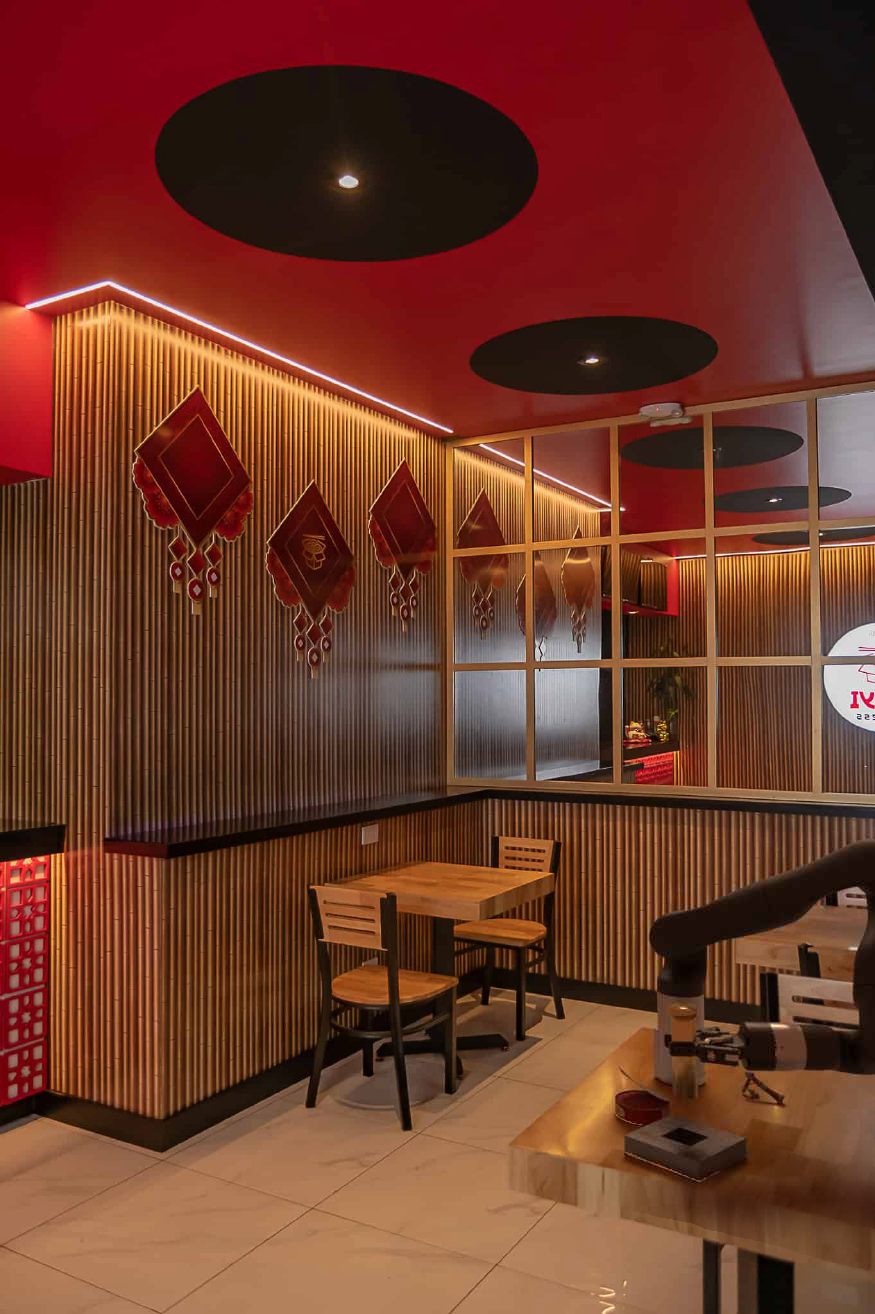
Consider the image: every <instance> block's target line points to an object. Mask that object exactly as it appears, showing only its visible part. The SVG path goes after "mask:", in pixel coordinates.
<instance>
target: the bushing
mask: <svg viewBox="0 0 875 1314" xmlns="http://www.w3.org/2000/svg"><path fill="white" fill-rule="evenodd" d="M668 1014H669V1015H671V1036H672V1041H684V1042H692V1043H693V1042H695V1041H696V1017H697V1016H699V1008H698V1007H697V1006H694V1005H690V1004H670V1005H668ZM672 1081H673V1085H672V1096H674V1097H675V1098H678V1099H682V1100H694V1099H698V1097H699V1095H698V1094H699V1091H698V1090H699V1089H698V1088H699V1086H698V1084H697V1059H695V1058H694V1056H693V1057H677V1056H672Z"/></svg>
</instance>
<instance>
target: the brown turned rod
mask: <svg viewBox="0 0 875 1314" xmlns="http://www.w3.org/2000/svg"><path fill="white" fill-rule="evenodd" d="M744 1075H745V1078H747V1079H746V1082H745V1084H743V1087H742V1089H741V1093H742V1094H744V1093H746V1092H747V1091H748V1093H749V1096H752V1097H753V1098H754V1099H761V1096H760V1095H759V1094H760V1093H758V1092H757V1091H755V1089H753V1090H752V1088H749V1086H751V1085H754V1084H755V1085H756V1086H757V1087H758V1088H759V1089H760V1090H762V1091H763V1092H764V1093H767V1094H768V1095H769V1096H770V1097H771V1098H772V1099H773V1100H774V1101H776V1105H777V1106H778V1105H780V1104H781V1103H783V1101H784V1099H785V1096H786V1094H784V1093H783V1094H780V1093H778V1092H776V1091H775V1090H773V1089H771V1088H769V1086H768V1085H767V1084H765V1082H763V1081H762V1080H760V1079H758V1078H757V1077H756V1075H755V1073H754V1071H748V1070H745V1072H744Z"/></svg>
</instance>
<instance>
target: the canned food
mask: <svg viewBox="0 0 875 1314" xmlns="http://www.w3.org/2000/svg"><path fill="white" fill-rule="evenodd" d="M617 1068H618V1069H619V1071H620V1072H621V1074H623V1075H624V1076H625V1077H627V1078H628V1079H629V1080H631V1081H632V1082H634V1083H635V1084H636V1085H638V1086H639V1087H640V1088H641V1089H643V1090H641V1089H640V1090H639V1089H638V1090H637V1089H633V1090H625V1091H621V1092H618V1093H617V1094H616V1095H615V1096H614V1101H615V1102H614V1104H615V1105H614V1108H615V1109H614V1113H615V1112H616V1114H617V1115H618V1116H619V1117H620V1118H623V1119H625V1120H627V1121H630V1122H632V1123H637V1124H642V1125H649V1124H651V1123H653V1122H656V1121H658V1120H660V1119H662V1118H665V1117H667V1116H669V1115H671V1100H670V1099H669V1097H667V1096H665V1095H664V1094H662V1093H659V1092H657V1091H656V1090H653V1089H651V1088H650V1087H647V1086H645V1085H643V1084H640V1083H639V1082H636V1081H635V1080H633V1078H631V1077H630V1076H629V1075H628V1074H627V1073H626V1072H625V1071H624V1070H623V1069H622V1068H620V1066H618V1067H617Z"/></svg>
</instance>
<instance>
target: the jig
mask: <svg viewBox="0 0 875 1314" xmlns="http://www.w3.org/2000/svg"><path fill="white" fill-rule="evenodd" d="M623 1145H624V1153H625V1152H628V1153H632V1154H633V1155H636V1156H637V1157H640V1158H642V1159H645V1160H647V1161H650V1162H653V1163H655V1164H659V1165H661V1166H663V1167H666V1168H668V1169H672V1170H673V1171H676V1172H678V1173H681V1174H682V1175H686V1176H688V1177H690V1178H694V1179H696V1180H699V1181H700V1180H703V1179H704V1178H707V1177H709V1178H711V1177H712V1176H711V1175H713V1174H715V1173H716V1172H718V1171H720V1172H722V1171H723V1170H722V1169H724V1168H726V1169H728V1168H729V1167H731V1166H733V1165H735V1164H737V1163H738V1162H741V1161H742V1160H744V1159H746V1158H747V1138H746V1137H744V1136H741V1135H737V1134H736V1133H735V1134H734V1133H731V1132H730V1131H729V1132H728V1131H725V1130H722V1129H720V1128H717V1127H713V1126H710V1125H707V1124H704V1123H702V1122H697V1121H695V1120H692V1119H689V1118H686V1117H683V1116H680V1115H676V1114H673V1113H670V1115H669V1116H667V1117H665V1118H662V1119H660V1120H658V1121H656V1122H653V1123H651V1124H649V1125H647V1126H641V1127H639V1128H637V1129H636V1130H633V1131H631V1132H628V1133H626V1134H624V1144H623ZM736 1162H737V1163H736ZM732 1164H733V1165H732ZM728 1166H729V1167H728ZM727 1167H728V1168H727ZM721 1170H722V1171H721ZM724 1170H725V1169H724ZM718 1173H719V1172H718ZM715 1175H716V1174H715ZM710 1176H711V1177H710ZM713 1176H714V1175H713ZM707 1179H708V1178H707Z"/></svg>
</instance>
